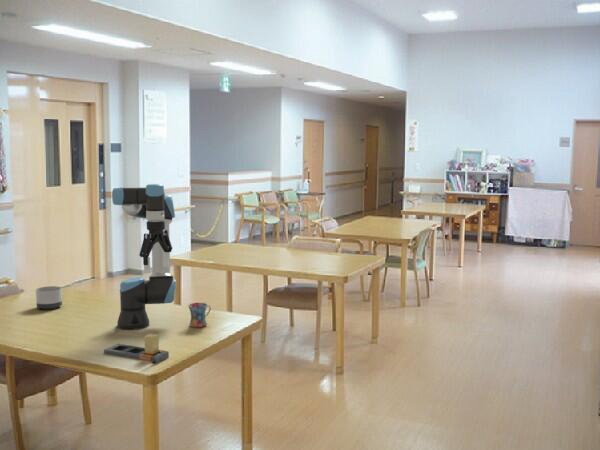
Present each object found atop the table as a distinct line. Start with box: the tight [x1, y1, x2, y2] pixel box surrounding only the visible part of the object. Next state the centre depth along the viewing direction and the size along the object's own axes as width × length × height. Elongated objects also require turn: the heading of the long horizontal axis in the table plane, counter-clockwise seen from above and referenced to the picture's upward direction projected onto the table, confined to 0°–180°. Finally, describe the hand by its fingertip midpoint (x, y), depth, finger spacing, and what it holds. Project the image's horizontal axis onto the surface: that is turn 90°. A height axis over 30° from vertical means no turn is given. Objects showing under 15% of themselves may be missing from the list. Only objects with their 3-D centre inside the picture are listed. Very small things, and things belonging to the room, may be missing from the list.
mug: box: [187, 302, 212, 328], centre depth 308 cm, size 12×9×11 cm
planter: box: [35, 285, 63, 310], centre depth 341 cm, size 13×13×10 cm
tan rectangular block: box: [144, 333, 160, 356], centre depth 259 cm, size 4×4×9 cm
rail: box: [103, 343, 170, 365], centre depth 263 cm, size 26×9×3 cm, turn 67°
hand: (156, 269), depth 270 cm, fingers open, 13 cm apart
